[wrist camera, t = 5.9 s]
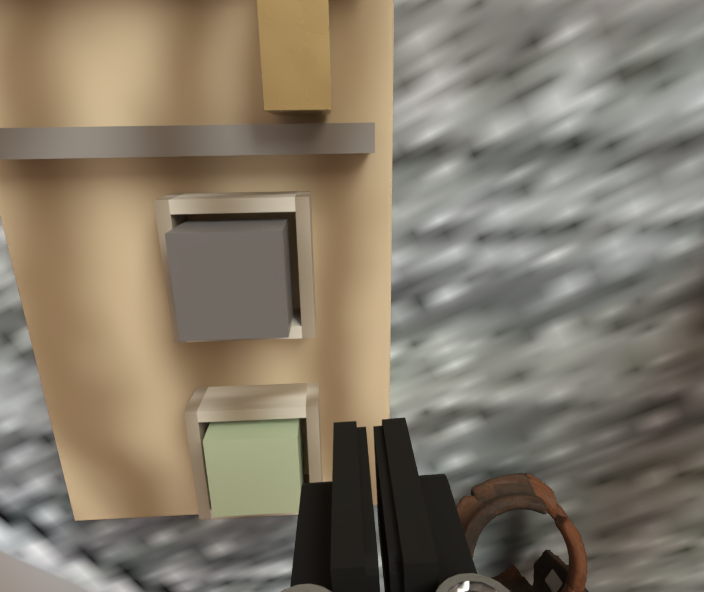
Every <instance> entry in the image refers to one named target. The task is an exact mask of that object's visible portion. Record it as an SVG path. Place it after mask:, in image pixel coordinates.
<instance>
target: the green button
mask: <svg viewBox="0 0 704 592" xmlns="http://www.w3.org/2000/svg"><path fill="white" fill-rule="evenodd" d="M203 447H204V455H205V462H206V470H207V477H208V485H209V492H210V500H211V507H212V515H213V517H221V516H240V515H259V514H278V513H297V512H299V504H300V494H301V487H302V484H303V483H304V458H303V440H302V422H301V418H290V419H267V420H244V421H221V422H210V424H209V427H208V429H207V432H206V434H205V437H204V439H203Z"/></svg>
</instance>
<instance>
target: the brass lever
mask: <svg viewBox="0 0 704 592" xmlns="http://www.w3.org/2000/svg"><path fill="white" fill-rule="evenodd" d="M257 10H258V24H259V39H260V54H261V68H262V83H263V98H264V110H265V111H267V112H269V113H271V114H273V115H330V113H331V75H330V38H329V1H328V0H257Z"/></svg>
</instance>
